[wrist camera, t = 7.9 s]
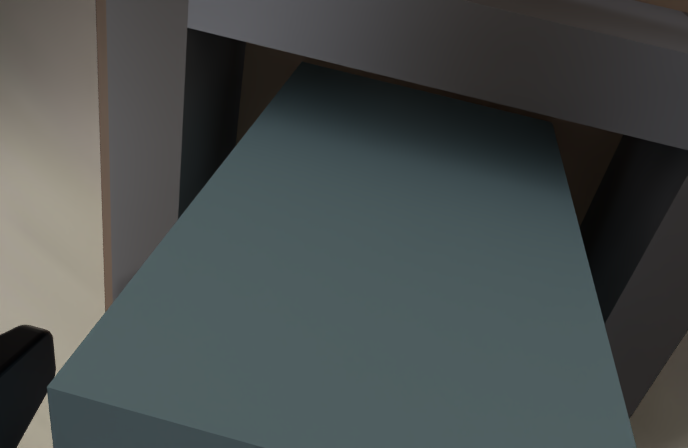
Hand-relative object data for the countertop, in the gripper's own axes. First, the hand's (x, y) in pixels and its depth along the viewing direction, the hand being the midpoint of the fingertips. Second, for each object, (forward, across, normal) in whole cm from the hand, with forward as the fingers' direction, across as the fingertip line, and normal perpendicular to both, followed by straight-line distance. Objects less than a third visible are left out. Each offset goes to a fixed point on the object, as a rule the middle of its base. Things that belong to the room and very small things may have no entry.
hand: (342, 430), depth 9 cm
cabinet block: (+3, 0, 0) cm, 3 cm away
